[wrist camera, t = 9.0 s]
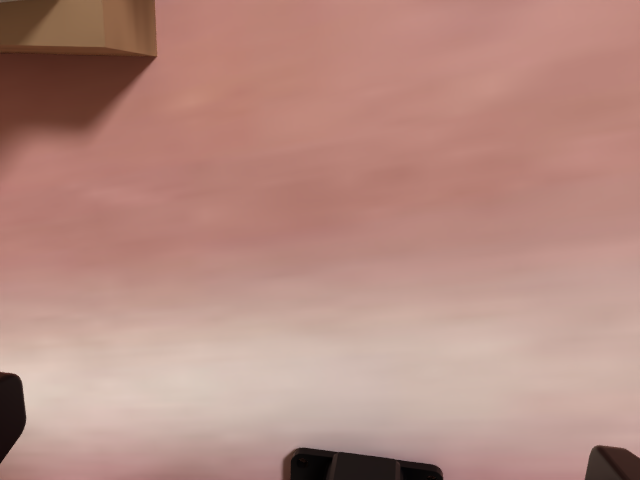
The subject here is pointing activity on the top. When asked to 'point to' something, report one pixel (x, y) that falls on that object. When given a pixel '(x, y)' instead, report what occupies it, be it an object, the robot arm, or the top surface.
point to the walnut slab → (79, 27)
